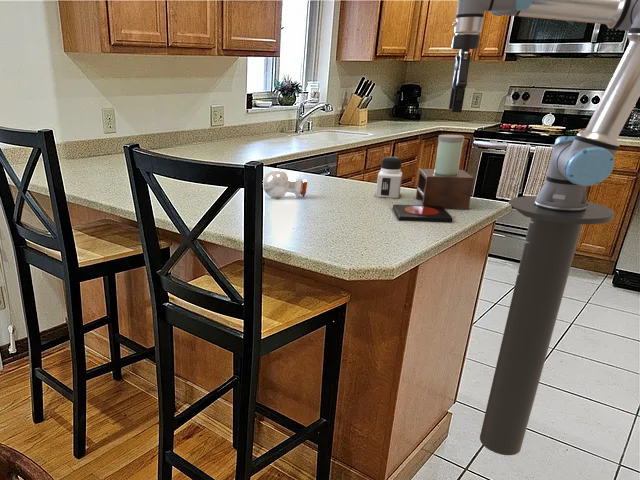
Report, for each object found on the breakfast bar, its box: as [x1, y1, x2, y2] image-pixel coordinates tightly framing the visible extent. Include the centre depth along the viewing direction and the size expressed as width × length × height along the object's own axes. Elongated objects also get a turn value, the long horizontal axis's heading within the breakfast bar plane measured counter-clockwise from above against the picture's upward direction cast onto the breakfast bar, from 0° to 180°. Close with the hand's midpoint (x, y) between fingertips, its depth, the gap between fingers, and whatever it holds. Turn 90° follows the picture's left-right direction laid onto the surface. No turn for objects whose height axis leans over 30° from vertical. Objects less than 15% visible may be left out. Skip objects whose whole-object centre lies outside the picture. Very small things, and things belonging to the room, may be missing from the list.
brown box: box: [415, 168, 475, 210], centre depth 171 cm, size 14×14×10 cm
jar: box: [433, 134, 465, 175], centre depth 167 cm, size 8×8×12 cm
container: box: [375, 156, 403, 199], centre depth 181 cm, size 8×8×13 cm
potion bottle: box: [263, 169, 308, 199], centre depth 180 cm, size 9×10×15 cm
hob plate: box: [392, 204, 453, 223], centre depth 159 cm, size 15×15×1 cm
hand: (454, 110), depth 163 cm, fingers open, 13 cm apart
